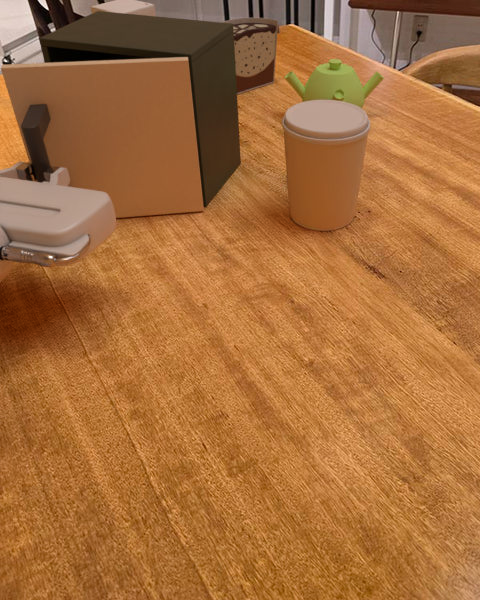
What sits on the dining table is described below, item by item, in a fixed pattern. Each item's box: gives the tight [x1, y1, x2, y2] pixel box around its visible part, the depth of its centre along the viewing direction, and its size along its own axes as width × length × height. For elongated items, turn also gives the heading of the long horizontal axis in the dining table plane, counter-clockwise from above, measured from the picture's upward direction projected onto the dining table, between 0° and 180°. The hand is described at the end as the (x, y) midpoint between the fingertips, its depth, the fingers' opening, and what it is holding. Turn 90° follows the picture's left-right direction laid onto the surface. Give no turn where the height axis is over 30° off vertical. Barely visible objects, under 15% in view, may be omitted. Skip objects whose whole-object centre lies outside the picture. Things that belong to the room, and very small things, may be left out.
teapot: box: [284, 58, 385, 109], centre depth 90 cm, size 11×12×8 cm
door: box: [0, 57, 205, 219], centre depth 61 cm, size 7×18×17 cm, turn 100°
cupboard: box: [38, 11, 242, 208], centre depth 71 cm, size 12×18×18 cm
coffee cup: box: [281, 100, 371, 232], centre depth 66 cm, size 9×9×12 cm
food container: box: [221, 17, 281, 96], centre depth 99 cm, size 12×6×10 cm, turn 135°
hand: (46, 171), depth 58 cm, fingers closed
